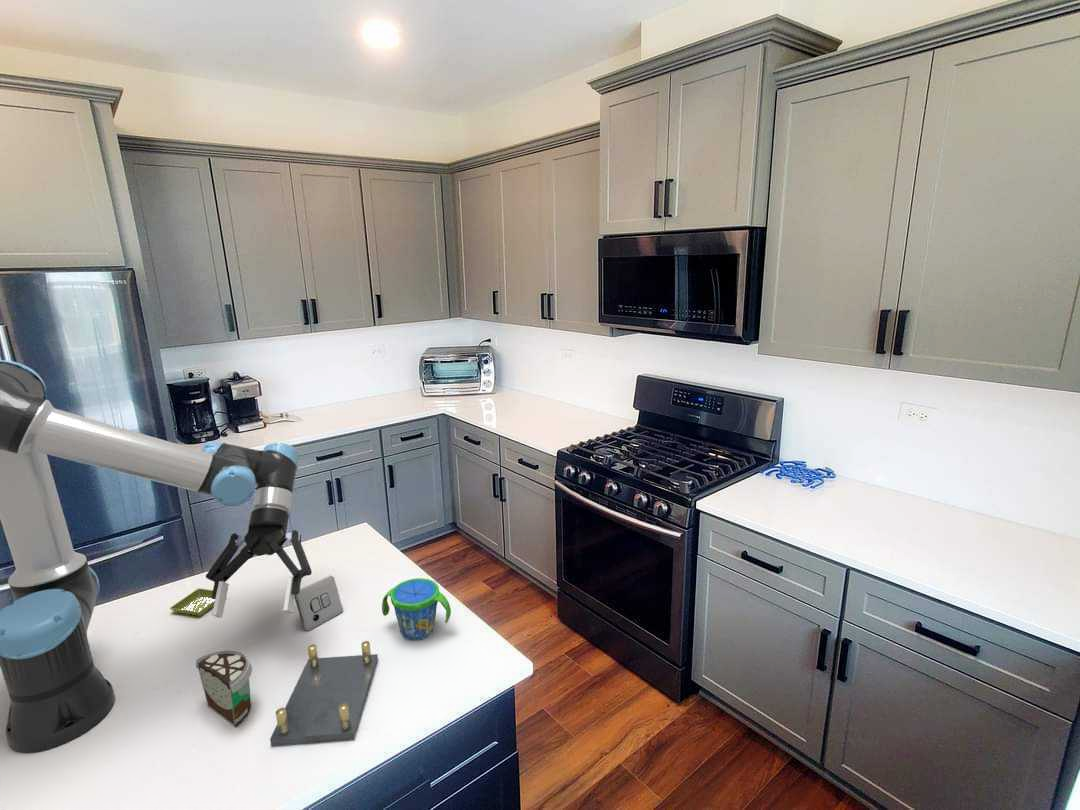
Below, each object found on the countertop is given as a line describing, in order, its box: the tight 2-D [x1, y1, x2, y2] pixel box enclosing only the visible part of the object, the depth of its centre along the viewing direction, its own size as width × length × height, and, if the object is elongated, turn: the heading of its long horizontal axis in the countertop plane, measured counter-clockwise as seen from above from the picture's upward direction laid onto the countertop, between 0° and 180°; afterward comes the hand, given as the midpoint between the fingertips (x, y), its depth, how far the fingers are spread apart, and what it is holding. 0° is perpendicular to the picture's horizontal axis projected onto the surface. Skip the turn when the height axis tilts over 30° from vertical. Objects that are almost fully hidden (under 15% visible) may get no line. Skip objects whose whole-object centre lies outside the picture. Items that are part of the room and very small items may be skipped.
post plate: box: [269, 640, 379, 747], centre depth 105 cm, size 14×20×6 cm
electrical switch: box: [294, 575, 344, 631], centre depth 129 cm, size 9×5×9 cm, turn 141°
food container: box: [195, 649, 253, 729], centre depth 103 cm, size 12×6×10 cm, turn 58°
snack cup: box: [381, 577, 452, 641], centre depth 123 cm, size 16×10×10 cm
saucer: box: [169, 588, 215, 617], centre depth 135 cm, size 9×9×2 cm
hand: (252, 614), depth 110 cm, fingers open, 13 cm apart
